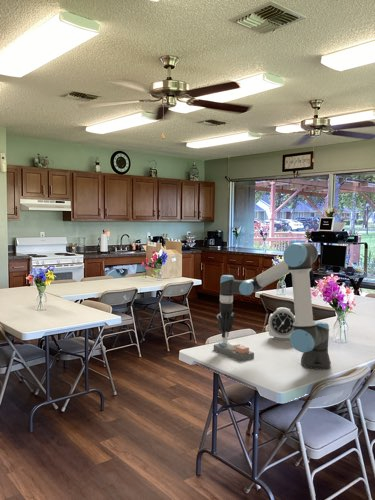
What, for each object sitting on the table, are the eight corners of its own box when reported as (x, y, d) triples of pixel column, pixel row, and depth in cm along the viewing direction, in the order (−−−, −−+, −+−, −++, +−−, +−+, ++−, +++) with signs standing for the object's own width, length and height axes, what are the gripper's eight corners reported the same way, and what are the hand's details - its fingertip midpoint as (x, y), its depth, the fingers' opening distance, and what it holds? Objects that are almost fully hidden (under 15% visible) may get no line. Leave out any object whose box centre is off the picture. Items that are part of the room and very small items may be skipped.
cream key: (239, 349, 241) (239, 344, 241) (232, 350, 238) (233, 345, 238) (233, 347, 245) (234, 342, 245) (227, 348, 242) (227, 343, 242)
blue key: (230, 348, 247) (231, 343, 247) (224, 350, 244) (224, 344, 244) (225, 346, 251) (225, 341, 251) (218, 347, 249) (218, 342, 248)
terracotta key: (248, 353, 235) (249, 347, 235) (242, 354, 232) (242, 348, 232) (242, 350, 239) (242, 345, 239) (235, 352, 236) (236, 346, 236)
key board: (253, 358, 235) (254, 352, 235) (240, 361, 230) (240, 355, 229) (226, 347, 254) (227, 342, 254) (213, 349, 248) (213, 344, 248)
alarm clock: (267, 339, 274) (268, 308, 272) (268, 336, 282) (269, 305, 281) (296, 342, 269) (298, 310, 268) (296, 338, 278) (297, 307, 276)
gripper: (230, 300, 253) (229, 339, 255) (213, 302, 245) (211, 342, 247) (239, 302, 247) (237, 342, 248) (221, 304, 239) (220, 346, 241)
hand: (224, 342), depth 248 cm, fingers closed
